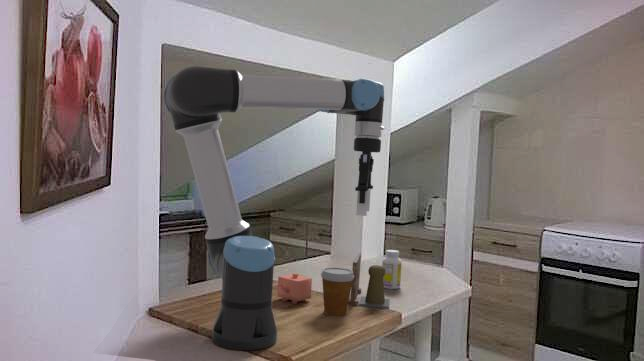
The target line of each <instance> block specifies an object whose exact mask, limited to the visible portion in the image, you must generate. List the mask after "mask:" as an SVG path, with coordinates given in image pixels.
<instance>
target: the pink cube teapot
mask: <svg viewBox="0 0 644 361" xmlns="http://www.w3.org/2000/svg"><path fill="white" fill-rule="evenodd" d="M312 282H313V277H307V276H304V275H299V273H297V272H293V273H289V274H285V275H279V276H278V278H277V294H276V295H277V296H276V297H279V298H282V299H281V300H282V301H284V302H285V301H286V302H287V301H288V300H289V301H291V304H295V305H296V304H298V302H306V300H308V299H312V286H313V285H312V284H313V283H312Z"/></svg>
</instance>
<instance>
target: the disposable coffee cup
mask: <svg viewBox="0 0 644 361" xmlns="http://www.w3.org/2000/svg"><path fill="white" fill-rule="evenodd" d="M320 276H321V279H322V280H321V281H322V291H323V292H322V293H323V294H322V295H323V309H324V310H323V311H324V313H325V314H326V315H329V316H335V317H337V316H338V317H339V316H345V315H347V310H348V306H349V305H348V301H349V299H350V297H351V285H352V280H353V278H354V275H353V271H352V270H351V269H349V268H345V267H325V268H323V269H322V272H320Z"/></svg>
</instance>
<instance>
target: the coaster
mask: <svg viewBox="0 0 644 361" xmlns="http://www.w3.org/2000/svg"><path fill="white" fill-rule="evenodd" d="M365 299H366V296H365V295H362V296H360V298H359V301H358V306H359V307H369V308H378V309H390V298H385V303H383V304H372V303H368V302H366V301H365Z"/></svg>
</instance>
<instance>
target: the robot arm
mask: <svg viewBox="0 0 644 361" xmlns="http://www.w3.org/2000/svg"><path fill="white" fill-rule="evenodd" d="M163 100H164V101H163V102H164V104H165V106H166V108H167V109H166V110H168V112H169V114H170V116H171V119H172V124H173V126H174V130H175V131H174V132H176V133H178V134H179V135H181V136H182V137H183V139H184V143H185V147H186V149H187V150H186V151H187V155H188V157H189V162H190V165H191V169H192V171H193V172H192V173H193V177H194V179H195V182H196V187H197V190H198V193H199V197H200V202H201V205H202V208H203V213H204V215H205V220H206V222H207V223H206V224H207V227H208V229H207V231H206V233H205V235H204V239H205V243H206V247H207V257H208V259H207V260H208V264H209V266H210V268H211V270H212V271H213V272H214V273H215V274H216V275H217V276H218V277H219V278H220V279H221V280H222V281H221V282H222V284H221V302H220V303H221V305H220V309H219V311H218V313H217V315H216V318H215V321H214V324H213V327H212V329H211V330H212V331H211V342H213V344H215V345H217V346H218V347H220V348H224V349H228V350H235V351H254V350H257V351H258V350H262V349H266V348H270V347H271V346H273V345H275V344H276V342H277V341H278V328H277V324H276V320H275V317H274V312H273V309H272V300H273V299H272V298H273V285H274V283H273V281H274V267H275V266H274V264H275V260H276V257H275V246H274V245H273V243H272V242H271V241H270V240H268V239H265V238H261V237H259V236H253V234H252V228H251V225H250V223H249V222H247V221H245V220H244V219H243V218H242V215H241V212H240V211H241V210H240V207H239V204H238V200H237V196H236V193H235V189H234V185H233V184H234V183H233V181H232V177H231V173H230V169H229V166H228V162H227V158H226V154H225V150H224V146H223V142H222V139H221V134H220V131H219V127H220V125H221V124H222V121H223V118H222V115H221V114H222V113H223V114H224V113H237V112H238V111H239V110H240V109H261V110H263V109H267V110H268V109H270V110H277V109H278V110H312V111H313V110H316V111H318V112H320V113H322V112H323V113H327V114H336V115H337V114H339V115H351V116H355V122H354V134H353V136H355V138H354V139H353V140H354V141H353V150H354V152H361V154H360V155H359V156H360V157H359V159H358V181H357V183H358V184H357V187H356V186H355V190H354V191H355V192H357V199H356V212H355V213H356V214H355V215H356V216H362V217H363V216H364V217H365V216H366V217H367V216H368V215H367V214H368V212H370V206H371V205H370V204H371V203H370V202H371V190H373V189H374V185H372V172H373V166H374V158H373V155H372V153H380V152H381V148H382V140H381V139H380V138H381V137H382V131H384V130H385V126H382V124H383V115H384V103H385V85H384V84H383V83H381V82H379V81H374V80H373V79H372V78H371V79H370V78H359V79H339V78H337V79H336V78H320V77H319V78H316V77H296V76H295V77H294V76H279V75H277V76H276V75H275V76H274V75H255V74H241V73H240V72H239V71H238V70H237V69H229V68H218V67H210V66H201V65H195V66H192V65H191V66H187V67H185V68H183V69H181V70H179V71H178V72H177V73H176V74H175V75H174V76H172V77H171V79H169V81H168V82H167V83H166V85H165V89H164V93H163Z"/></svg>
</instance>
